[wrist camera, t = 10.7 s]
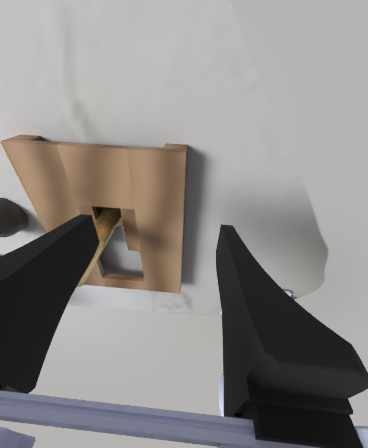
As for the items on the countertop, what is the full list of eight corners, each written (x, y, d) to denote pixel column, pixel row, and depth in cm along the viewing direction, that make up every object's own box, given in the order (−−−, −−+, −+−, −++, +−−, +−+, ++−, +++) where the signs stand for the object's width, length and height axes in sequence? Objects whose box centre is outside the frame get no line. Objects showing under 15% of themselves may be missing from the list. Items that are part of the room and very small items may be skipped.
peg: (129, 193, 22) (87, 261, 14) (136, 222, 24) (103, 294, 16) (94, 193, 22) (34, 260, 14) (104, 221, 25) (57, 292, 17)
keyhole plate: (187, 144, 18) (185, 153, 16) (181, 280, 30) (180, 293, 29) (19, 134, 19) (0, 141, 17) (79, 271, 31) (72, 283, 29)
